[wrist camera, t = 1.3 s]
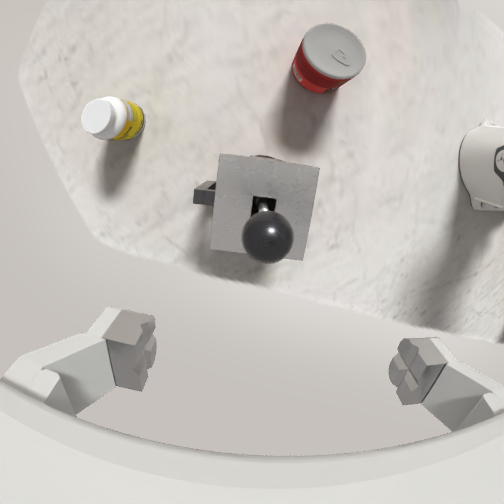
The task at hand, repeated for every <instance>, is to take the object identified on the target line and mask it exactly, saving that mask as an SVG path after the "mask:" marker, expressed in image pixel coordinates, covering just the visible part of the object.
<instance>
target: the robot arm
mask: <svg viewBox="0 0 504 504" xmlns="http://www.w3.org/2000/svg"><path fill="white" fill-rule="evenodd" d="M460 171H461V176H462V179H463V182H464V185H465V187H466V188H467V190H468V192H469V194H470V198H471V203H472V207H473V209H475V210H489V211H504V127H498V126H496V125H495V124H494V123H493V122H492V121H491V120H489V119H484V120H483V121H482V123H481V124H480V126H478V127H476V128H474V129H472V130H470V131H469V132H468V133H467V135H466V136H465V138H464V140H463V142H462V146H461V150H460ZM154 329H155V318H154V316H152V315H147V314H143V313H138V312H133V311H129V310H123V309H119V308H115V307H107V308H106V309H105V310H104V312H103V313H102V314H101V315H100V316H99V318H98V319H97V320H96V322H95V323H94V324H93V325H92V326H91V328H90V329H89V330H88V331H87V333H86V334H84V333H80V334H77V335H75V336H72V337H69V338H67V339H64V340H62V341H59V342H56V343H54V344H51V345H48V346H46V347H43V348H40V349H38V350H35V351H32V352H30V353H27V354H24V355H22V356H20V357H19V358H18V359H17V360H16V361H15V363H14V364H13V365H12V366H11V367H10V369H9V370H8V371H7V372H6V373H5V374H4V376H3V377H2V378H1V379H0V504H504V386H503V385H501V384H499V383H498V382H496V381H494V380H492V379H490V378H489V377H487V376H485V375H483V374H481V373H480V372H478V371H476V370H474V369H473V368H471V367H469V366H468V365H466V364H464V363H462V362H458V361H457V359H456V358H455V357H454V356H453V355H452V353H451V352H450V351H449V349H448V348H447V347H446V346H445V344H444V343H443V342H442V341H441V340H440V338H437V337H428V338H410V339H403V340H402V341H401V342H400V344H399V346H398V352H399V353H398V354H397V355H396V356H395V357H393V359H392V361H391V363H390V365H389V378H390V380H391V382H392V384H394V385H395V386H396V387H398V388H397V391H396V393H397V395H398V396H399V398H400V400H401V402H402V405H409V404H418V403H422V405H423V406H424V407H425V408H426V409H427V410H428V411H430V412H431V413H432V414H433V415H434V416H435V417H436V418H438V419H439V420H440V421H441V422H442V423H443V424H444V425H445V426H447V427H448V428H449V429H450V430H451V431H452V432H451V433H447V434H444V435H440V436H437V437H433V438H429V439H425V440H421V441H417V442H413V443H408V444H404V445H399V446H394V447H388V448H382V449H376V450H369V451H362V452H354V453H344V454H332V455H316V456H261V455H260V456H259V455H244V454H232V453H222V452H214V451H205V450H199V449H193V448H186V447H180V446H175V445H170V444H165V443H160V442H156V441H152V440H147V439H143V438H140V437H136V436H132V435H128V434H125V433H121V432H118V431H114V430H111V429H108V428H105V427H102V426H99V425H96V424H93V423H90V422H88V421H85V420H82V419H79V418H77V416H76V414H77V413H79V412H80V411H82V410H83V409H85V408H86V407H88V406H89V405H91V404H92V403H94V402H95V401H96V400H98V399H99V398H101V397H102V396H104V395H105V394H107V393H108V392H110V391H111V390H112V389H114V388H115V387H116V386H119V387H124V388H128V389H132V390H137V391H142V390H143V387H144V385H145V383H146V380H147V377H148V373H147V369H149V368H151V367H152V365H153V363H154V360H155V355H156V338H155V337H154V335H153V332H154Z"/></svg>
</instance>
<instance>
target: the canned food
mask: <svg viewBox="0 0 504 504" xmlns="http://www.w3.org/2000/svg"><path fill="white" fill-rule="evenodd" d="M365 62H366V53H365V49H364V47H363V45H362V43H361V41H360V40H359V39H358V37H357V36H356V35H355V34H354V33H352V32H351V31H350V30H348V29H346V28H344V27H342V26H340V25H336V24H332V23H323V24H319V25H316V26H314V27H312V28H311V29H310V30H309V31H308V32H307V33H306V34H305V36H304V38H303V40H302V42H301V44H300V46H299V48H298V51H297V53H296V55H295V58H294V60H293V64H292V69H293V73H294V76H295V78H296V79H297V81H298V82H299V83H300V84H301V85H302V86H303V87H305V88H306V89H308V90H310V91H312V92H315V93H329V92H332V91H334V90H336V89H337V88H338V87H340V86H341V85H343V84H344V83H346V82H347V81H349V80H350V79H352V78H353V77H355V76H356V75H357V74H359V73H360V71H361V70H362V69H363V67H364V65H365Z"/></svg>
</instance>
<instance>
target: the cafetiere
mask: <svg viewBox="0 0 504 504" xmlns="http://www.w3.org/2000/svg"><path fill="white" fill-rule="evenodd" d="M319 169H320V168H318V167H313V166H307V165H301V164H295V163H289V162H285V161H282V160H279V159H275V158H272V157H269V156H263V155H258V156H250V157H247V156H238V155H230V154H220V156H219V164H218V172H217V181H216V182H215V181H206V182H205V183H203V184H201V185H200V186H198V187H197V188H195V189H194V199H193V203H194V204H203V205H212V206H214V209H213V219H212V230H211V241H210V249H214V250H222V251H229V252H237V253H245V254H247V253H246V251H245V250H244V248H243V245H242V239H241V235H242V230H243V227H244V225H245V223H246V222H247V220H248V219H249V218H250V215H251V208H252V200H253V196H260V197H268V198H275V199H276V203H275V210H274V212H277V213H279V214H281V215H283V216H284V217H285V218H286V219H287V220H288V221H289V222H290V224H291V226H292V228H293V231H294V243H293V247H292V249H291V251H290V252H289V254H288V255H287V256H286V257H285V259H293V260H301V261H303V257H304V252H305V247H306V242H307V237H308V232H309V226H310V221H311V216H312V210H313V205H314V199H315V193H316V188H317V182H318V176H319Z"/></svg>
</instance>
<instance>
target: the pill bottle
mask: <svg viewBox="0 0 504 504" xmlns="http://www.w3.org/2000/svg"><path fill="white" fill-rule="evenodd" d="M81 124H82V127H83V129H84V130H85V131H86V132H87V133H90V134H92V135H93V136H94V137H96V138H98V139H101V140H130V139H133V138H135V137H136V136H138V135H139V134H140V133H141V131H142V130H143V128H144V125H145V114H144V111H143V109H142V108H141V107H140V106H139V105H137V104H134V103H132V102H129V101H126V100H123V99H120V98H117V97H112V96H109V97H104V98H102V99H95V100H93V101H91V102H89V103H88V104H87V105H86V107H85V108H84V110H83V112H82V115H81Z"/></svg>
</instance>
